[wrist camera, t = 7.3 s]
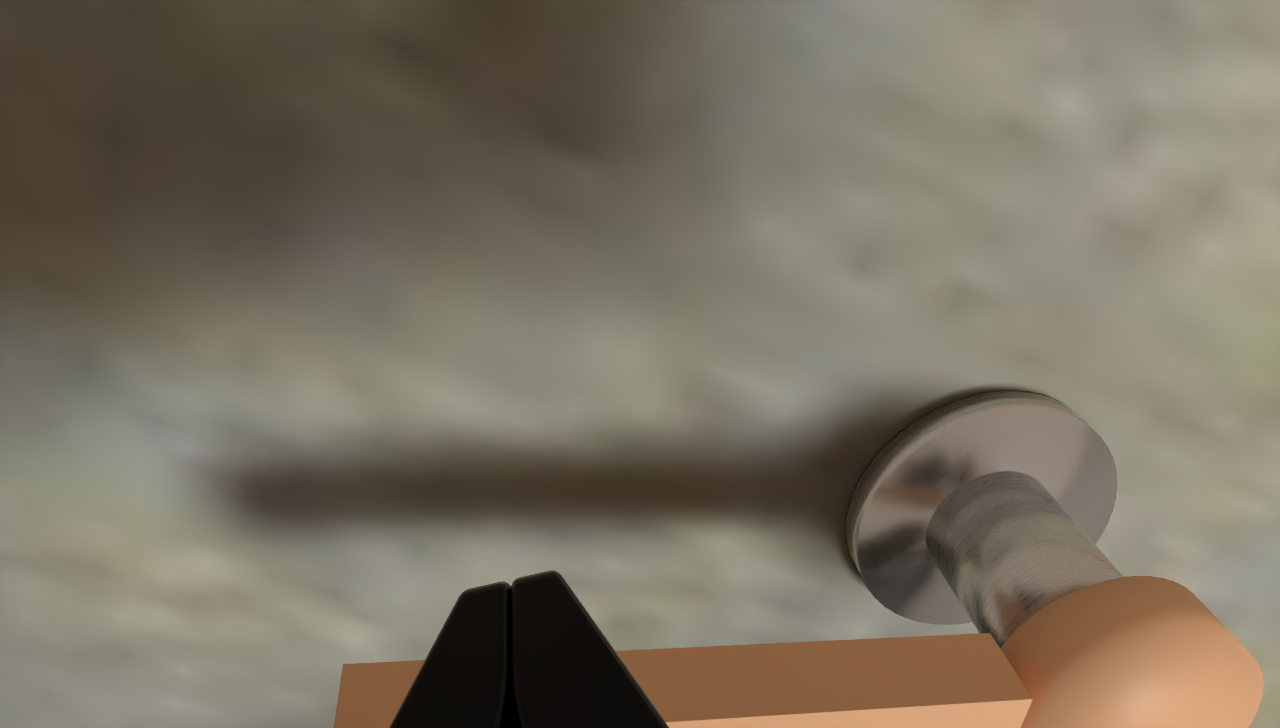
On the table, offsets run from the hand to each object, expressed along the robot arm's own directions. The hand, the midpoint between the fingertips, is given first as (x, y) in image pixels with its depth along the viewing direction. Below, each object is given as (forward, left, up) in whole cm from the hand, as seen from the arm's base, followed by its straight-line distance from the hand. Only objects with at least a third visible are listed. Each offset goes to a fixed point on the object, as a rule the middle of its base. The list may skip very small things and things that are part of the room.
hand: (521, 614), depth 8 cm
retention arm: (-5, -4, -3) cm, 7 cm away
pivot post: (-5, -9, -7) cm, 12 cm away
